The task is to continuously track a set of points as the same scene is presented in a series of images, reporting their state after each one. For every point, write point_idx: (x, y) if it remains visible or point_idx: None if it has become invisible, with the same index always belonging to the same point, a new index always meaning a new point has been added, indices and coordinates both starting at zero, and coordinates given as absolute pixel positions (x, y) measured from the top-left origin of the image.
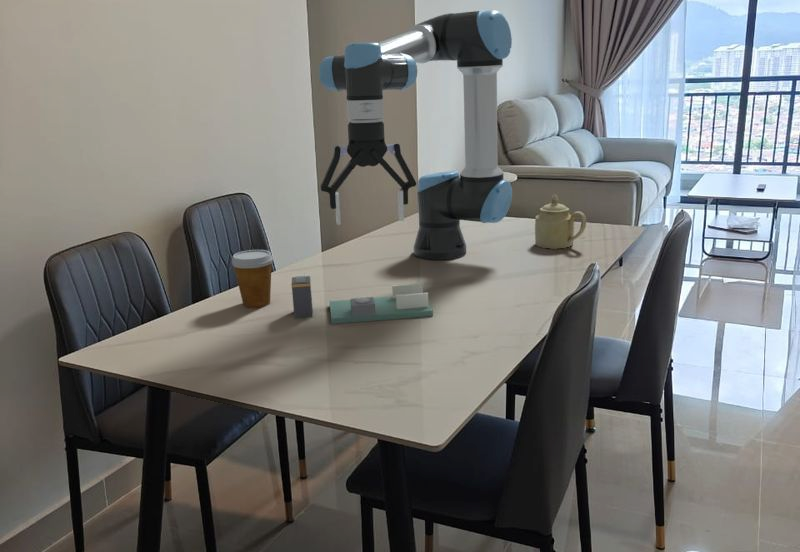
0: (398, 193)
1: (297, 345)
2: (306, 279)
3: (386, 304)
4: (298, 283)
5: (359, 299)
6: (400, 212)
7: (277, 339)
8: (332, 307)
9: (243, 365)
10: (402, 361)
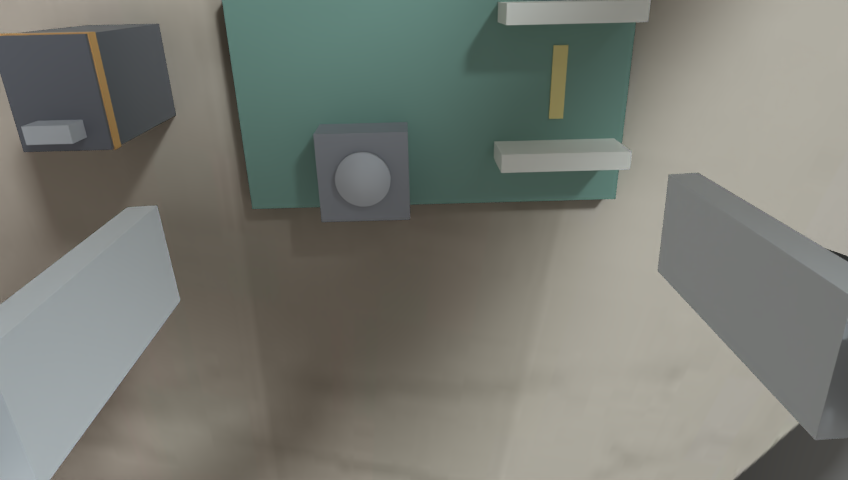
0: (803, 332)
1: (174, 351)
2: (81, 94)
3: (461, 94)
4: (57, 149)
5: (351, 175)
6: (691, 302)
7: None
8: (243, 83)
9: None
10: (454, 475)
